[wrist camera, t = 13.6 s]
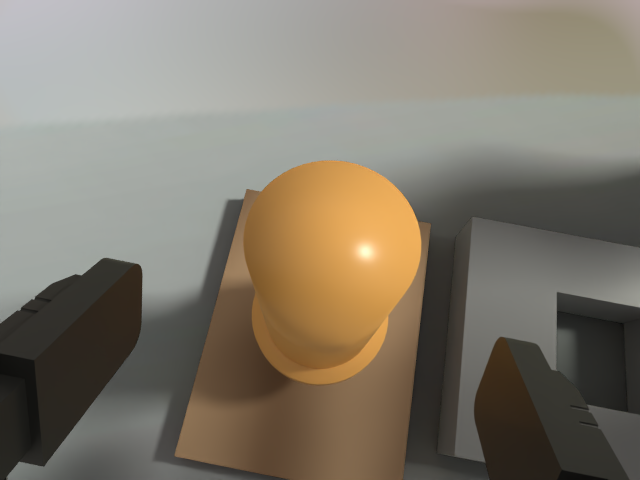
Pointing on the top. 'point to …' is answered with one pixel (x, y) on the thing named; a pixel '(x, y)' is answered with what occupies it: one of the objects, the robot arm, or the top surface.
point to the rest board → (299, 393)
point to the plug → (328, 268)
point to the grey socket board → (535, 319)
